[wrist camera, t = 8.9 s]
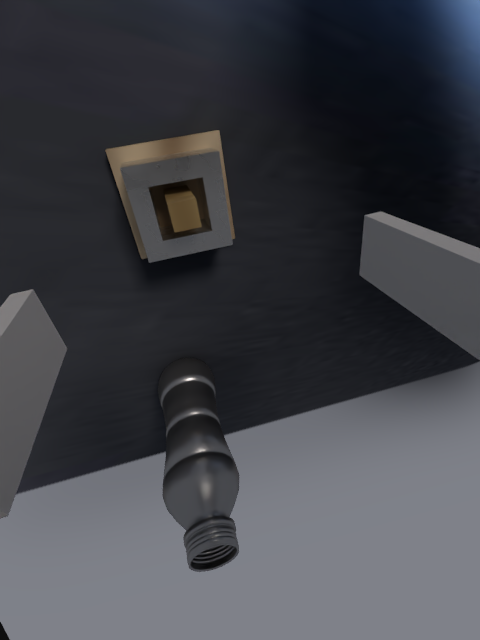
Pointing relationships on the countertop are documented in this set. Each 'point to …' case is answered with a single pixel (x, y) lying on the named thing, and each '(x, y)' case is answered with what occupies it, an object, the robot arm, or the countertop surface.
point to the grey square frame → (170, 170)
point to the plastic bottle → (198, 465)
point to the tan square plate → (173, 198)
